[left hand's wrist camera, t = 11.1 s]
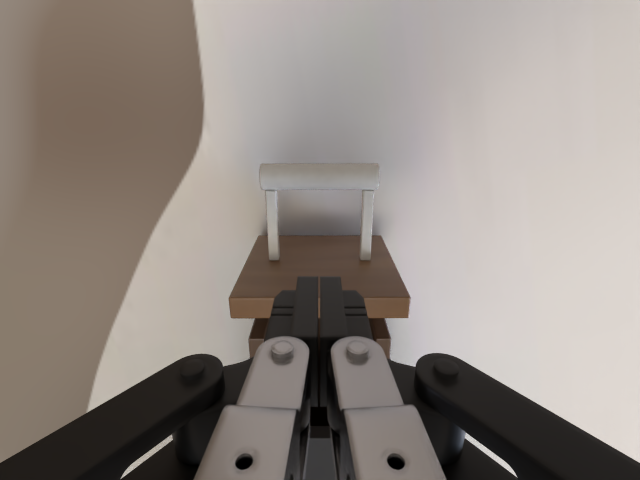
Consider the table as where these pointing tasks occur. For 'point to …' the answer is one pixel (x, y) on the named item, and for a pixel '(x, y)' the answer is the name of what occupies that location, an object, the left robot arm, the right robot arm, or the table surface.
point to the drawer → (320, 258)
